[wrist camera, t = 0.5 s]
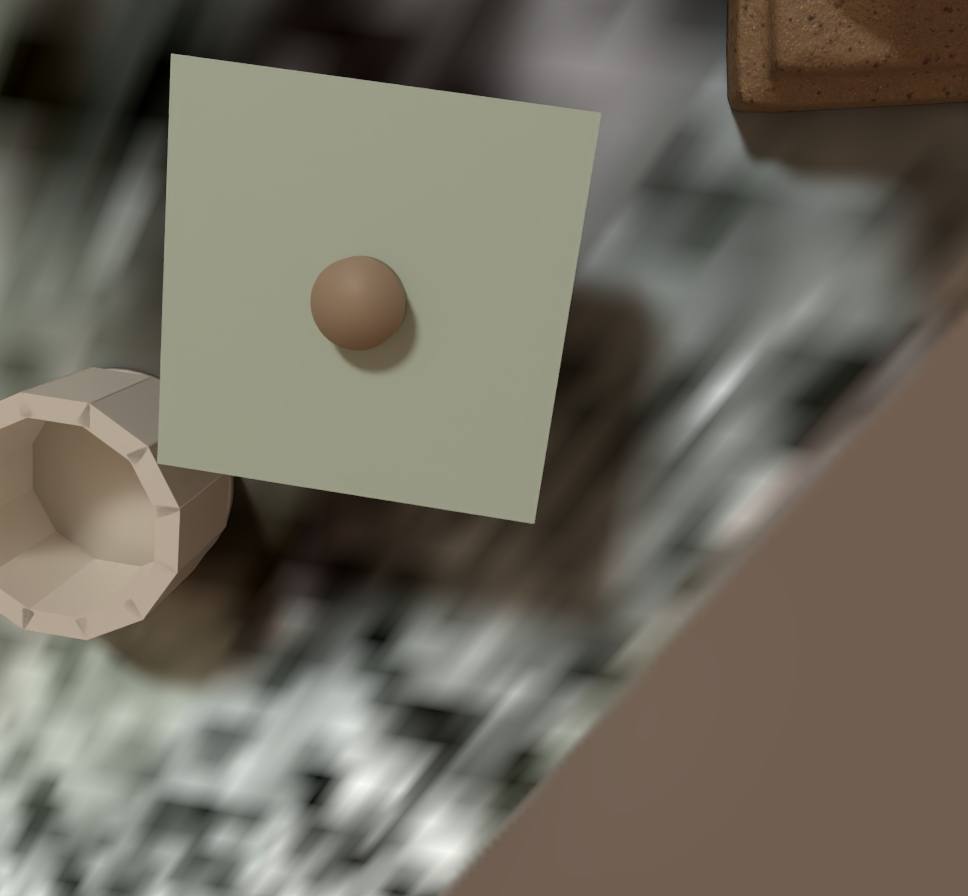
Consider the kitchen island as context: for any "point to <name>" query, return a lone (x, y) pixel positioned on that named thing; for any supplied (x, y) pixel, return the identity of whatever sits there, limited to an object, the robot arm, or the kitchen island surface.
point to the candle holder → (845, 54)
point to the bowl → (96, 505)
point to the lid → (367, 284)
